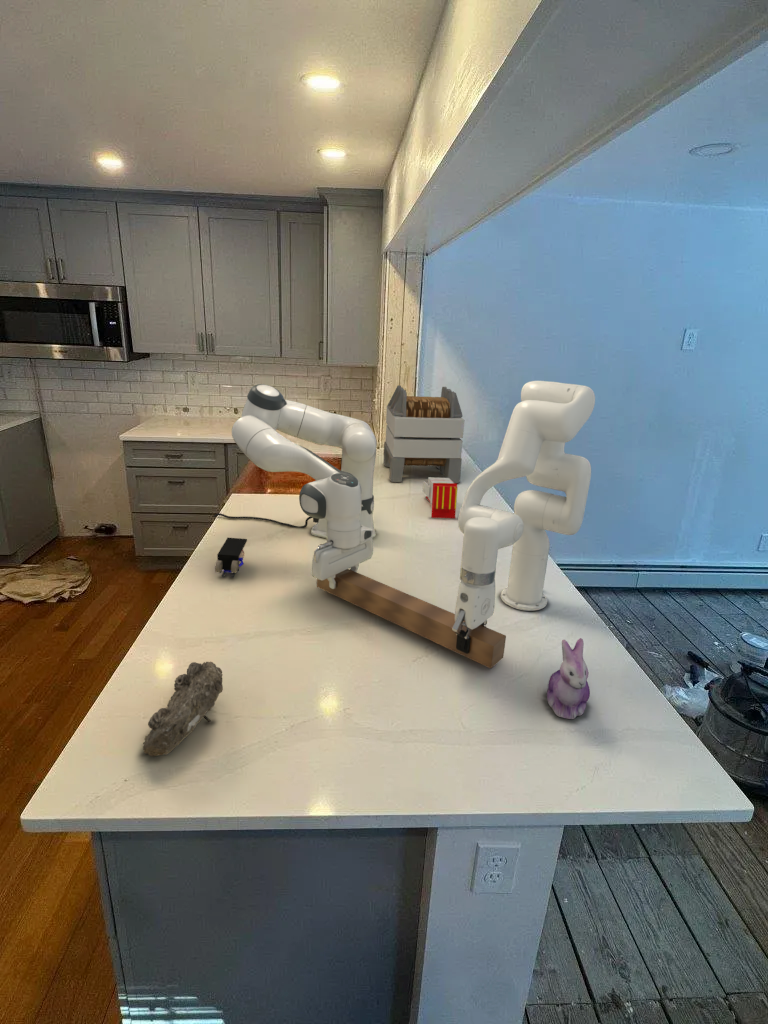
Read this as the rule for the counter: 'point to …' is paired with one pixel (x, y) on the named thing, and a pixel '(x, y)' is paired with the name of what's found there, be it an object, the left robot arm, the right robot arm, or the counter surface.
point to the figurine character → (230, 556)
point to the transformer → (424, 433)
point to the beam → (415, 615)
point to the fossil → (184, 708)
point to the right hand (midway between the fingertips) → (470, 644)
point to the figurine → (569, 683)
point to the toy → (441, 497)
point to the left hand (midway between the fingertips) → (342, 583)
